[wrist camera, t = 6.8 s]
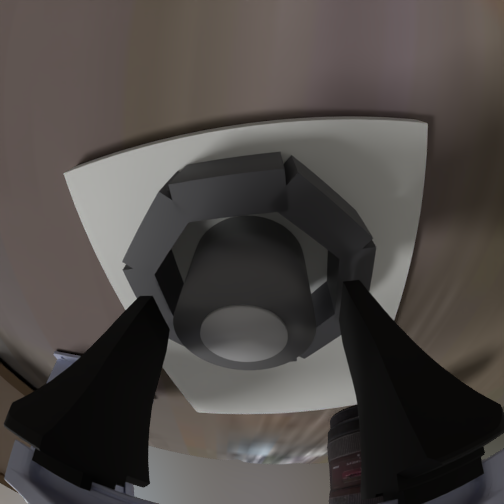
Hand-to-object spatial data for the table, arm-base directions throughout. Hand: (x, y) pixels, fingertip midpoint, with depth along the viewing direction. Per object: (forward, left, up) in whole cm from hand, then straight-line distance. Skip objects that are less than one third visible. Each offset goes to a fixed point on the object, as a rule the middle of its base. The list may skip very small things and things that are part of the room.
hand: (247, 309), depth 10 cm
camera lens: (+9, -24, -4) cm, 26 cm away
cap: (0, 0, -3) cm, 3 cm away
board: (0, -6, -4) cm, 7 cm away
